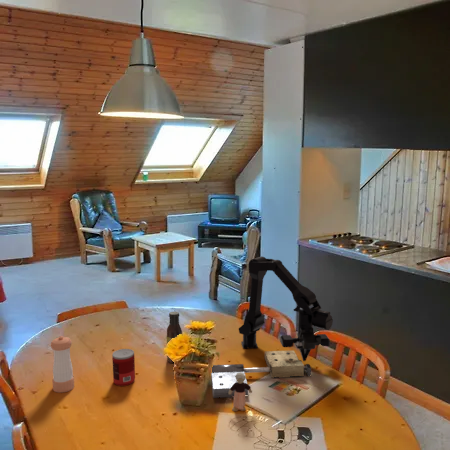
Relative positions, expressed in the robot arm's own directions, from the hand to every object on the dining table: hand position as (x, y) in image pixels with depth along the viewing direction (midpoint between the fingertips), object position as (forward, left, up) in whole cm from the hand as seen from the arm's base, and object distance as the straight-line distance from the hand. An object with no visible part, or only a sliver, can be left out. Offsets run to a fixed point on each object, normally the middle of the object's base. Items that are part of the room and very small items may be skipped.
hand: (304, 360), depth 187 cm
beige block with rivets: (+3, -9, -1) cm, 10 cm away
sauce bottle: (-7, -51, -1) cm, 52 cm away
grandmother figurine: (+31, -29, -1) cm, 42 cm away
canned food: (+9, -69, -1) cm, 70 cm away
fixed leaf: (+15, -19, -1) cm, 24 cm away
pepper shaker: (+12, -90, -1) cm, 91 cm away
